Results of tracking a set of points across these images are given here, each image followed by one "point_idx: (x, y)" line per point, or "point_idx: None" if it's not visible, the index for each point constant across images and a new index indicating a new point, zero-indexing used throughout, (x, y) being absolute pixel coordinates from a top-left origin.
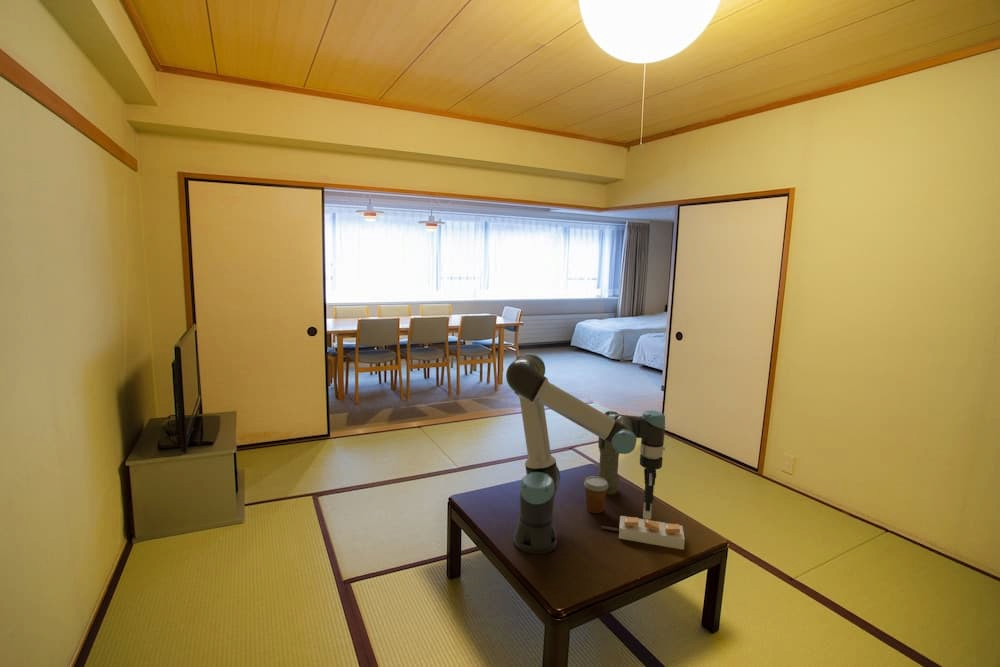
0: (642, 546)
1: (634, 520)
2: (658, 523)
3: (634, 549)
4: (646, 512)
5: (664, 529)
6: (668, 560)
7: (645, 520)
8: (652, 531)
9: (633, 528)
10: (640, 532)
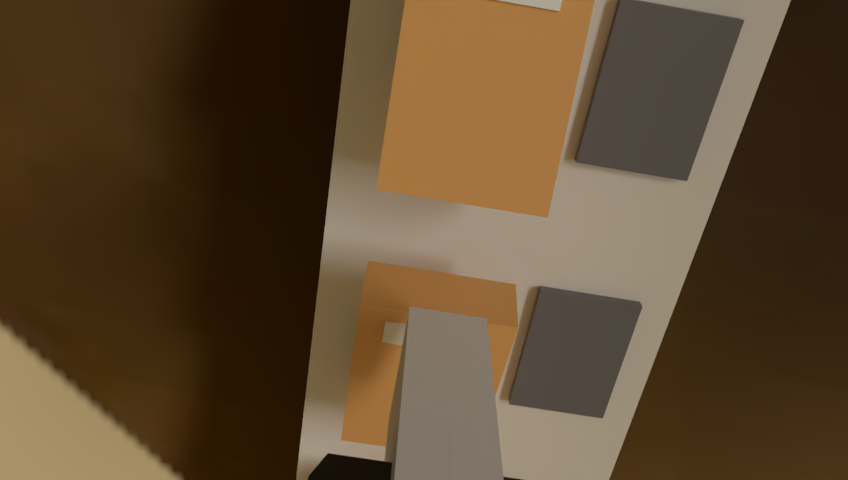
0: (265, 144)
1: (448, 138)
2: None
3: (171, 35)
4: (394, 432)
5: None
6: (85, 348)
7: None
8: None
9: None
10: (331, 174)
